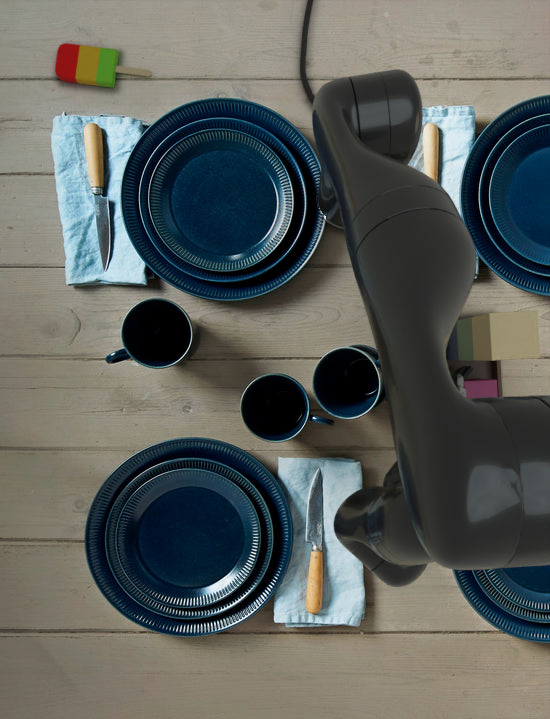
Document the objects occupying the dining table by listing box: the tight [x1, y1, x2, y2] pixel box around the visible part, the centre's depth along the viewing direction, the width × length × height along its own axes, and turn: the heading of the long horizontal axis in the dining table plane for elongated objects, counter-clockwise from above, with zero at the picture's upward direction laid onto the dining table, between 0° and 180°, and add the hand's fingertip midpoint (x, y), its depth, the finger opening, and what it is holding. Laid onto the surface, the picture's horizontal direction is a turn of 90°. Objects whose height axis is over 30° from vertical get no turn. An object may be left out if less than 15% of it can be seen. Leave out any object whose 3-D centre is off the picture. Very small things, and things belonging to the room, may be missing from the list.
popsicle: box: [54, 42, 153, 89], centre depth 88 cm, size 6×15×2 cm, turn 82°
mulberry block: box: [464, 378, 498, 398], centre depth 83 cm, size 5×5×7 cm
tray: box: [447, 315, 504, 397], centre depth 86 cm, size 15×9×3 cm, turn 3°
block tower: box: [446, 309, 541, 361], centre depth 76 cm, size 6×6×20 cm
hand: (481, 388), depth 83 cm, fingers closed on mulberry block, 6 cm apart
